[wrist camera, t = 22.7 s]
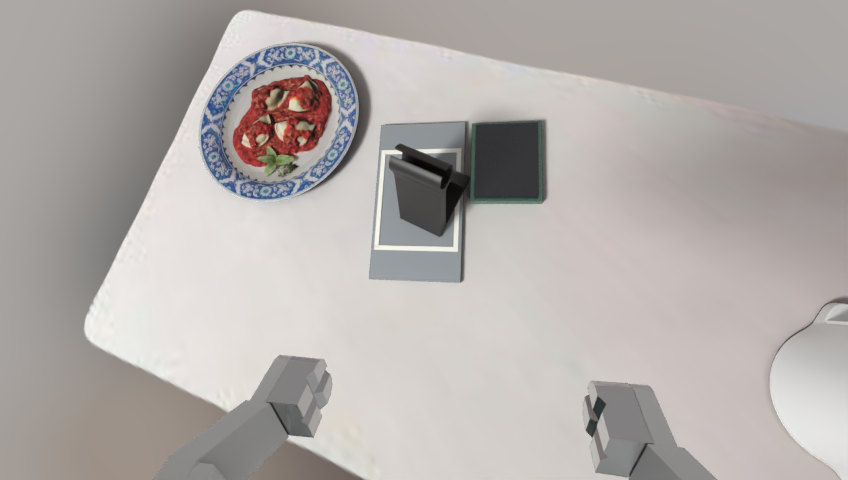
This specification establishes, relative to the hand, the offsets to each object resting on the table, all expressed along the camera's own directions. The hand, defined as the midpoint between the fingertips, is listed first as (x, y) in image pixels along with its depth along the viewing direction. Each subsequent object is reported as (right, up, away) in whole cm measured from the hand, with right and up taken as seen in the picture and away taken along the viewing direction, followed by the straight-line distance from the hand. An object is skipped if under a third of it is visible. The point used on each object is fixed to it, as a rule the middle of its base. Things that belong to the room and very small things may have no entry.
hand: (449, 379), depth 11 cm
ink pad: (+10, +14, +36) cm, 40 cm away
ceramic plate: (-22, +22, +43) cm, 53 cm away
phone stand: (+1, +10, +36) cm, 37 cm away
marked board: (-2, +10, +37) cm, 38 cm away
